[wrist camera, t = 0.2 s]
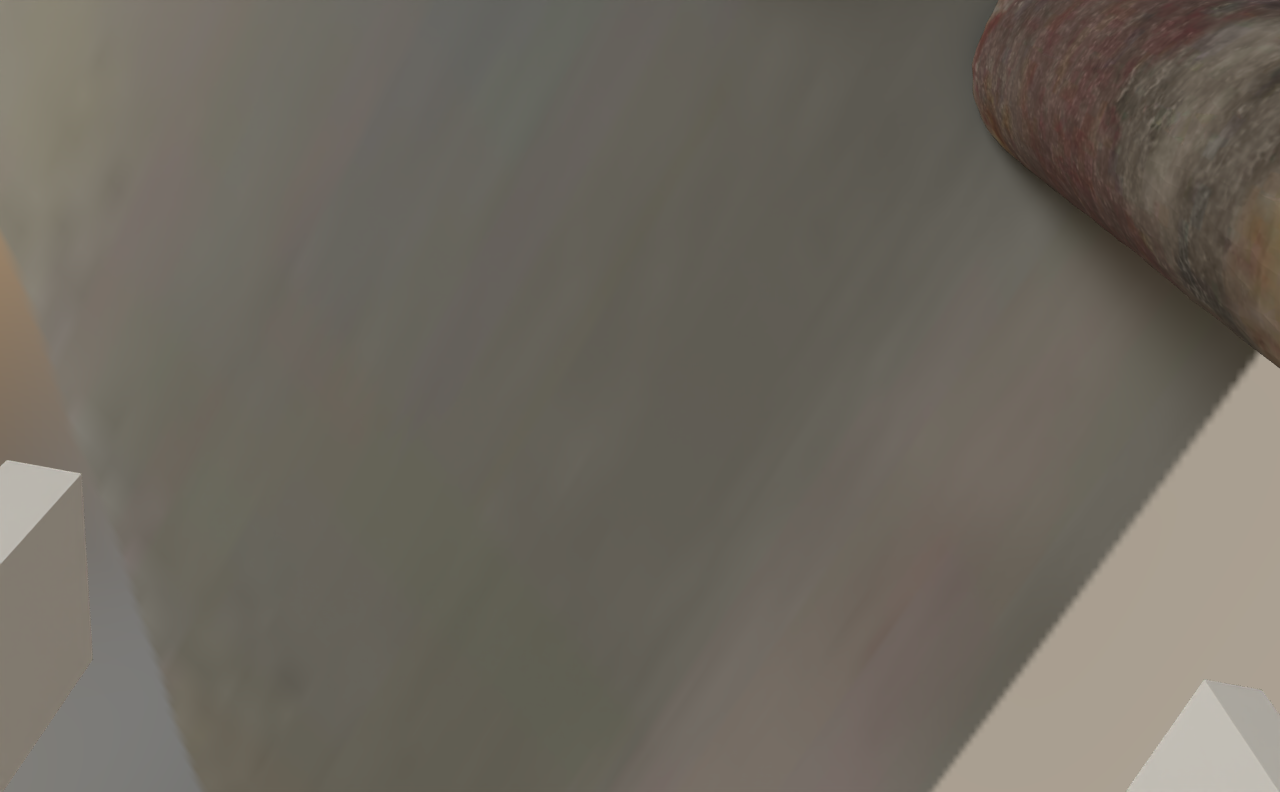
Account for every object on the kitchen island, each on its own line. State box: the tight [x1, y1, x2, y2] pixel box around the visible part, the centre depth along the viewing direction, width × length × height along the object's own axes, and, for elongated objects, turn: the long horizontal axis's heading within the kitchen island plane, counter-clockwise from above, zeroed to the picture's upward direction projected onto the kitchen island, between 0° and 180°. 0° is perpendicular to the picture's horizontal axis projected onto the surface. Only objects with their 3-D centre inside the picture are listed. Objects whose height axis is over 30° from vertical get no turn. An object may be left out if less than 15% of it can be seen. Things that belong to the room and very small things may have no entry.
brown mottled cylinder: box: [972, 0, 1280, 368], centre depth 26 cm, size 8×7×20 cm
